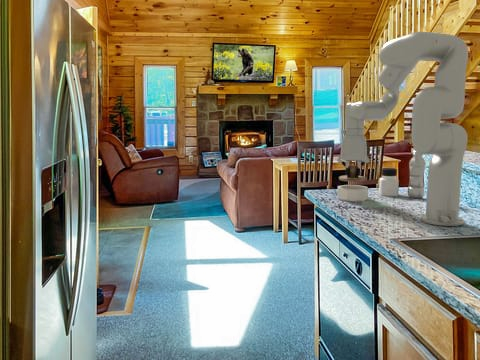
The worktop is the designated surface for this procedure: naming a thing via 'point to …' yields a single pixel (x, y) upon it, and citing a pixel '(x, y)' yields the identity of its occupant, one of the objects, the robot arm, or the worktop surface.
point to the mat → (374, 204)
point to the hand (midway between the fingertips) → (352, 176)
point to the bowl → (352, 193)
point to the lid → (352, 175)
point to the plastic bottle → (416, 176)
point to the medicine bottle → (389, 182)
